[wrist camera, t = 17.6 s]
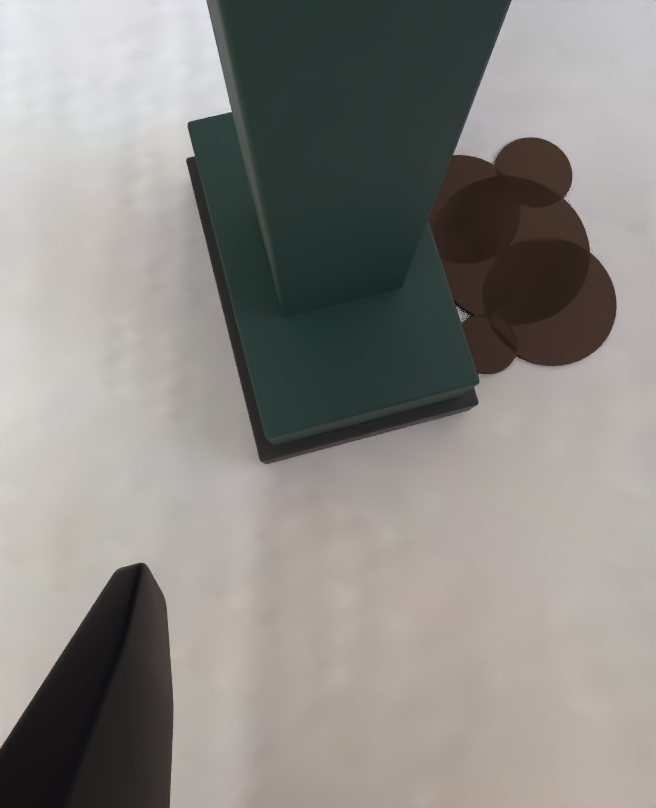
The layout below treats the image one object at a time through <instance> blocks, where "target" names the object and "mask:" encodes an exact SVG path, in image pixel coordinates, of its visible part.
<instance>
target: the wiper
mask: <svg viewBox="0 0 656 808" xmlns="http://www.w3.org/2000/svg"><path fill="white" fill-rule="evenodd" d="M206 1H207V5H208V9H209V14H210V18H211V22H212V27H213V31H214V36H215V40H216V44H217V49H218V53H219V57H220V62H221V66H222V70H223V75H224V79H225V84H226V88H227V92H228V97H229V101H230V105H231V110H232V112H230V113H225V114H221V115H217V116H212V117H208V118H204V119H199V120H195V121H191V122H189V123H188V130H189V134H190V138H191V142H192V146H193V150H194V154H195V156H194V157H190V158H187V160H186V162H187V166H188V170H189V174H190V178H191V182H192V186H193V190H194V194H195V199H196V203H197V207H198V211H199V215H200V219H201V223H202V227H203V231H204V235H205V239H206V243H207V247H208V251H209V255H210V259H211V264H212V268H213V272H214V276H215V280H216V284H217V288H218V292H219V296H220V300H221V304H222V308H223V312H224V316H225V320H226V324H227V328H228V333H229V337H230V341H231V345H232V349H233V353H234V357H235V361H236V365H237V369H238V373H239V377H240V381H241V385H242V389H243V393H244V398H245V402H246V406H247V410H248V414H249V418H250V422H251V426H252V430H253V434H254V438H255V442H256V446H257V450H258V454H259V458H260V461H261V462H263V463H264V464H268V463H272V462H276V461H280V460H283V459H287V458H291V457H295V456H298V455H302V454H306V453H310V452H314V451H317V450H321V449H325V448H329V447H332V446H336V445H340V444H344V443H347V442H351V441H355V440H359V439H362V438H366V437H370V436H374V435H377V434H381V433H385V432H389V431H392V430H396V429H400V428H404V427H407V426H411V425H415V424H419V423H422V422H426V421H430V420H434V419H437V418H441V417H445V416H449V415H452V414H456V413H460V412H464V411H468V410H470V409H471V408H473V407H474V406H476V405H477V404H478V399H477V396H476V393H475V389H474V386H476V385H477V384H478V383H479V377H478V374H477V371H476V368H475V365H474V362H473V358H472V355H471V352H470V349H469V346H468V343H467V340H466V337H465V334H464V330H463V327H462V324H461V321H460V318H459V315H458V312H457V309H456V305H455V302H454V299H453V296H452V293H451V290H450V287H449V284H448V281H447V277H446V274H445V271H444V268H443V265H442V262H441V259H440V256H439V253H438V249H437V246H436V243H435V240H434V237H433V234H432V231H431V228H430V225H429V221H428V219H429V216H430V214H431V211H432V209H433V206H434V203H435V201H436V198H437V195H438V193H439V190H440V187H441V185H442V182H443V180H444V177H445V174H446V172H447V169H448V166H449V164H450V161H451V158H452V156H453V153H454V151H455V148H456V145H457V143H458V140H459V137H460V135H461V132H462V129H463V127H464V124H465V122H466V119H467V116H468V114H469V111H470V108H471V106H472V103H473V100H474V98H475V95H476V93H477V90H478V87H479V85H480V82H481V79H482V77H483V74H484V71H485V69H486V66H487V64H488V61H489V58H490V56H491V53H492V50H493V48H494V45H495V42H496V40H497V37H498V35H499V32H500V29H501V27H502V24H503V21H504V19H505V16H506V14H507V11H508V8H509V6H510V3H511V0H206Z"/></svg>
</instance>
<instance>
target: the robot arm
mask: <svg viewBox="0 0 656 808" xmlns="http://www.w3.org/2000/svg"><path fill="white" fill-rule="evenodd" d="M172 738H173V688H172V674H171V660H170V646H169V632H168V619H167V607H166V601H165V598H164V595H163V593H162V591H161V589H160V587H159V586H158V584H157V582H156V580H155V578H154V577H153V575H152V573H151V571H150V570H149V568H148V566H147V565H146V564H144V563H137V564H133V565H129V566H126V567H122V568H119V569H118V570H116V571H115V572H114V574H113V575H112V577H111V578H110V580H109V581H108V583H107V584H106V586H105V587H104V589H103V591H102V592H101V594H100V595H99V597H98V598H97V600H96V601H95V603H94V604H93V606H92V608H91V609H90V611H89V612H88V614H87V615H86V617H85V618H84V620H83V621H82V623H81V625H80V626H79V628H78V629H77V631H76V632H75V634H74V635H73V637H72V639H71V640H70V642H69V643H68V645H67V646H66V648H65V649H64V651H63V652H62V654H61V656H60V657H59V659H58V660H57V662H56V663H55V665H54V666H53V668H52V669H51V671H50V673H49V674H48V676H47V677H46V679H45V680H44V682H43V683H42V685H41V686H40V688H39V690H38V691H37V693H36V694H35V696H34V697H33V699H32V700H31V702H30V704H29V705H28V707H27V708H26V710H25V711H24V713H23V714H22V716H21V717H20V719H19V721H18V722H17V724H16V725H15V727H14V728H13V730H12V731H11V733H10V734H9V736H8V738H7V739H6V741H5V742H4V744H3V745H2V747H1V748H0V808H170V787H171V762H172Z"/></svg>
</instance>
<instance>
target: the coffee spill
mask: <svg viewBox="0 0 656 808" xmlns="http://www.w3.org/2000/svg"><path fill="white" fill-rule="evenodd" d="M571 182H572V169H571V165H570V163H569V160H568V159H567V157H566V155H565V154H564V153H563V152H562V151H561V150H560V149H559V148H558V147H557V146H556V145H554V144H552V143H551V142H549V141H546V140H543V139H539V138H522V139H518V140H515V141H513V142H511V143H510V144H508V145H507V146H506V147H504V149H503V150H502V151H501V152H500V154H499V155H498V157H497V159H496V162H495V165H492V164H491V163H489V162H487V161H485V160H482V159H479V158H476V157H472V156H465V155H453V156H452V158H451V161H450V164H449V166H448V169H447V172H446V174H445V177H444V180H443V182H442V185H441V187H440V190H439V193H438V195H437V198H436V201H435V203H434V206H433V209H432V211H431V214H430V216H429V219H428V221H429V225H430V228H431V231H432V234H433V237H434V240H435V243H436V246H437V249H438V253H439V256H440V259H441V262H442V265H443V268H444V271H445V274H446V277H447V281H448V284H449V287H450V290H451V293H452V296H453V299H454V302H455V303H456V304H457V305H458V306H459V307H460V308H462V309H463V310H464V311H466V312H467V313H469V314H471V315H472V317H470V318H468V319H467V320H466V321H465V322H464V323H463V324H462V327H463V330H464V334H465V337H466V340H467V343H468V346H469V349H470V352H471V355H472V358H473V362H474V365H475V368H476V371H477V372H478V373H482V374H493V373H497V372H500V371H502V370H504V369H505V368H507V367H508V366H509V365H510V364H511V363H512V362H513V360H514V358H515V356H517V357H519V358H521V359H524V360H526V361H529V362H532V363H535V364H540V365H547V366H559V365H566V364H571V363H574V362H577V361H579V360H581V359H583V358H585V357H587V356H589V355H590V354H591V353H593V352H594V351H596V350H597V349H598V348H599V347H600V346H601V345H602V343H603V342H604V341H605V340H606V338H607V337H608V335H609V333H610V331H611V329H612V326H613V324H614V320H615V316H616V296H615V290H614V287H613V284H612V281H611V279H610V277H609V275H608V273H607V272H606V270H605V268H604V267H603V266H602V264H601V263H600V262H599V261H598V260H597V259H596V258H595V257H594V256H593V255H592V254H591V253H590V248H589V242H588V237H587V234H586V231H585V228H584V226H583V224H582V222H581V220H580V218H579V217H578V215H577V213H576V212H575V211H574V209H573V208H572V207H571V206H570V204H569V203H568V202H567V201H566V200H564V199H563V198H564V196H565V195H566V194H567V192H568V191H569V188H570V186H571Z"/></svg>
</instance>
